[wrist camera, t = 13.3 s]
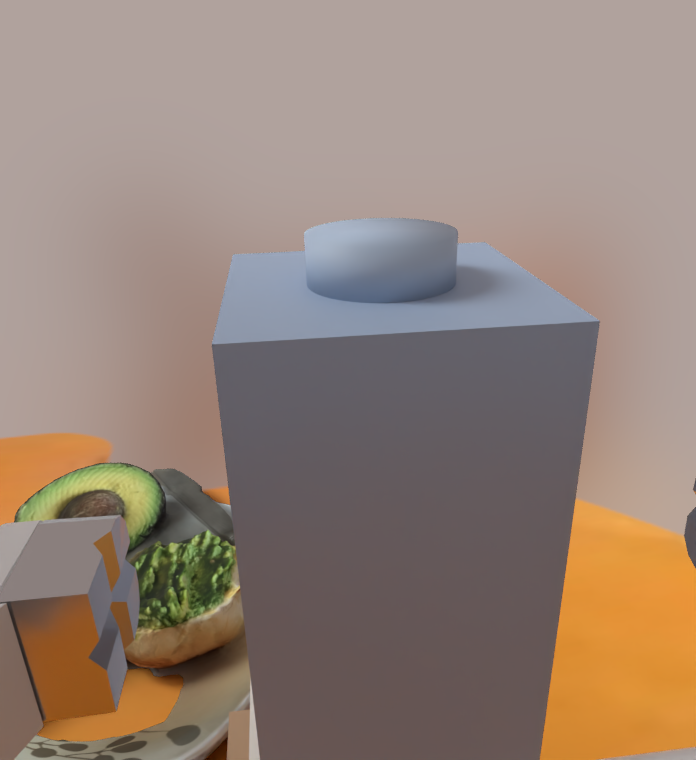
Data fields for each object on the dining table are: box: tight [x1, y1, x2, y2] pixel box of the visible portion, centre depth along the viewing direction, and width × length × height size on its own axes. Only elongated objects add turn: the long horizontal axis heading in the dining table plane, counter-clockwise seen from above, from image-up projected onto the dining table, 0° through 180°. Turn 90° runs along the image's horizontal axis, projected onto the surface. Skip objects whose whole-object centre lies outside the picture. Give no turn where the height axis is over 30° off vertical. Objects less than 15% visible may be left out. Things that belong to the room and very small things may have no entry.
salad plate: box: [14, 463, 250, 760], centre depth 29 cm, size 19×18×5 cm
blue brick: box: [212, 218, 600, 760], centre depth 12 cm, size 5×5×11 cm
